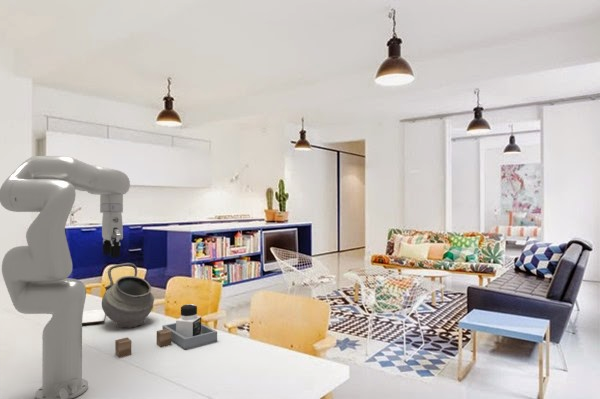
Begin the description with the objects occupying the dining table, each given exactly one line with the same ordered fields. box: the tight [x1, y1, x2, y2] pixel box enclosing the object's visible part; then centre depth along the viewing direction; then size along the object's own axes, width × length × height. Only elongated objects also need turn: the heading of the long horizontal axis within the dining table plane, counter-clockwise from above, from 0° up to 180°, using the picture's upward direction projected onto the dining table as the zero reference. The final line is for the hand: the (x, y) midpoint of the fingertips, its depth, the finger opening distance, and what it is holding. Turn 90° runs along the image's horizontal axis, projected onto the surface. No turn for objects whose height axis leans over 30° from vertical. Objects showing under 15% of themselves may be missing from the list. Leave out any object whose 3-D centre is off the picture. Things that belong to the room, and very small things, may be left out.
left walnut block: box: [114, 337, 132, 358], centre depth 139 cm, size 4×4×5 cm
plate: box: [82, 308, 106, 326], centre depth 176 cm, size 19×19×2 cm
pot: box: [101, 262, 155, 329], centre depth 172 cm, size 21×21×25 cm
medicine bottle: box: [175, 303, 202, 338], centre depth 155 cm, size 7×7×12 cm
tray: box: [161, 322, 218, 351], centre depth 155 cm, size 20×13×4 cm, turn 41°
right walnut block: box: [156, 329, 172, 348], centre depth 148 cm, size 4×4×5 cm
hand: (111, 255), depth 146 cm, fingers open, 9 cm apart
